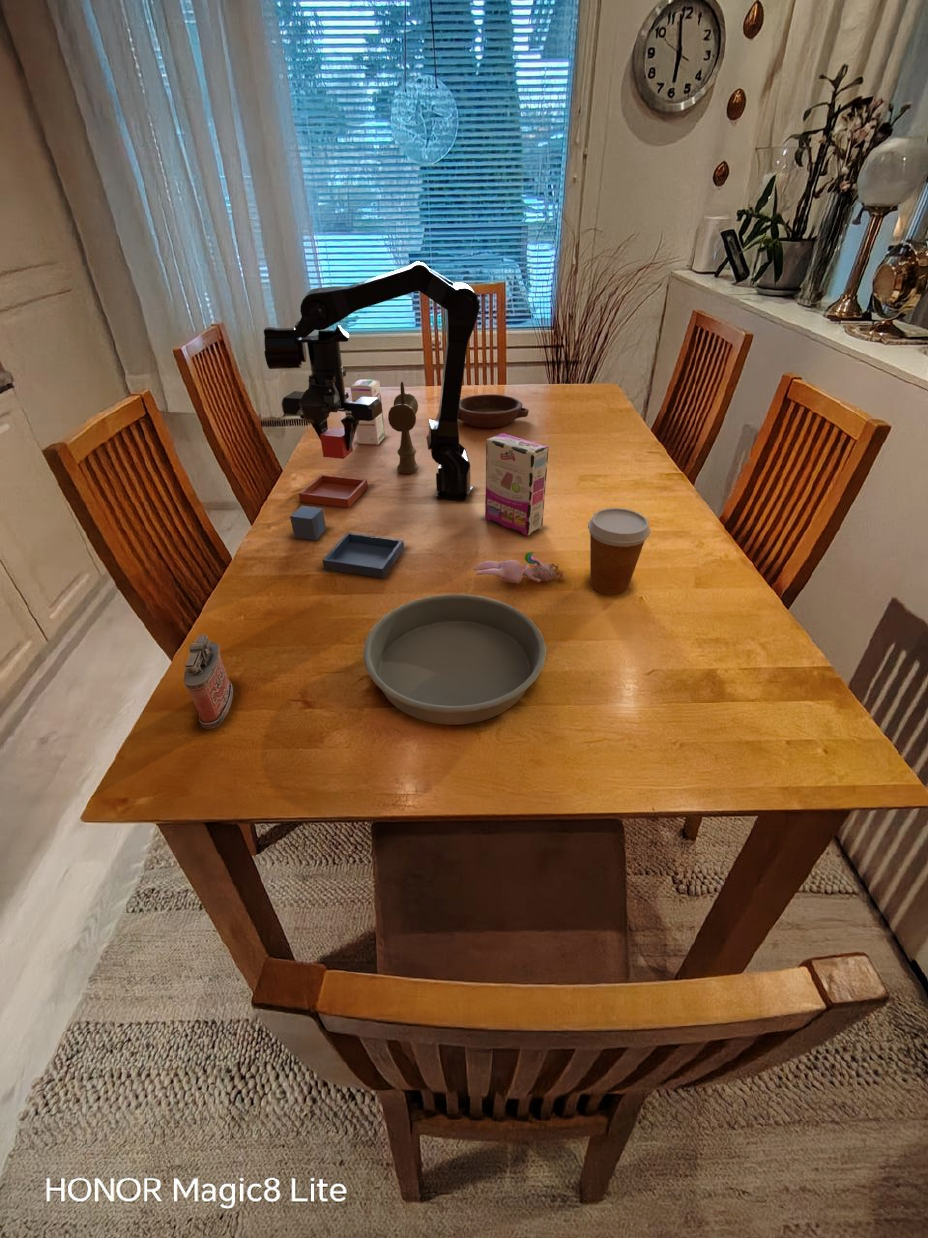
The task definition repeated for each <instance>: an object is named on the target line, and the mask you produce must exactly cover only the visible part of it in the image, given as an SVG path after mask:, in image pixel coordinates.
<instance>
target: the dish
mask: <svg viewBox="0 0 928 1238" xmlns="http://www.w3.org/2000/svg"><path fill="white" fill-rule="evenodd" d="M529 412H530V411H529V409H528V408H527V407H524V404H523V402H522V401H521V400H519V399H517V398H515V397H512V396H509V395H504V394H496V393H494V394H493V393H492V394H491V393H489V394H487V393H486V394H485V393H484V394H474V395H469V396H465V397H462V398H460V404H459V412H458V421H462V422H463V423H465V424H467V425H469V426H472V427H476V428H484V429H485V428H486V429H487V428H489V429H490V428H492V429H493V428H499V427H504V426H507V425H509V424H511V423H513V422H514V421H515V420H518V419H521V418H527V417H528V416H529Z"/></svg>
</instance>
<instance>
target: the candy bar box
mask: <svg viewBox="0 0 928 1238" xmlns="http://www.w3.org/2000/svg"><path fill="white" fill-rule="evenodd" d="M485 443H486V445H485V500H484V501H485V505H484V506H485V507H484V508H485V510H484V518H485V520H487V521H489V522H492V523H495V524H497V525H499V526H502V527H504V528H507V529H509V530H512V531H514V532H517V533H519V534H522V535H524V536H527V537H528V536H530V535H533V534H534V533H536V532H538V531H540V530H541V529H543V526H544V525H543V524H544V510H545V498H546V485H547V471H548V463H549V462H548V460H549V449H550V447H549V445H544V444H541V443H537V442H534V441H531V440H527V439H524V438H520V437H517V436H513V435H509V434H507V433H503V432H502V433H499V434H497V435H494V436H492V437H489V438H486V440H485Z"/></svg>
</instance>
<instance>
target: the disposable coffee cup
mask: <svg viewBox="0 0 928 1238" xmlns="http://www.w3.org/2000/svg"><path fill="white" fill-rule="evenodd" d="M587 529H588V532H589V542H590V543H589V545H590V547H589V550H590V553H589V554H590V555H589V556H590V557H589V558H590V559H589V560H590V561H589V562H590V564H589V565H590V566H589V567H590V569H589V571H590V572H589V576H590V577H589V579H590V586H591V588H592V589H594V590H595V591H596V592H598V593H600V594H603V595H609V596H615V595H622V594H624V593H625V592H627V591H628V590H629V586H630V584H631V581H632V578H633V575H634V572H635V569H636V567H637V564H638V561H639V558H640V555H641V553H642V550H643V547H644V544H645V541H646V540H647V539H648V537H649V536H650V534H651V528H650V526H649V521H648V518H647V517H646V516H644V515H643V514H641V513H640V512H638V511H635V510H632V509H629V508H623V507H607V508H603V509H600V510H598V511H597V512H594V513H593V515H592V516H591V519H589V521H588V523H587Z"/></svg>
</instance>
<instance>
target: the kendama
mask: <svg viewBox="0 0 928 1238" xmlns="http://www.w3.org/2000/svg"><path fill="white" fill-rule="evenodd" d="M418 410H419V403H418V400H417V399H416V397H415V396H414V395H413V394H411V393H408V392H405V384H404V382H403V381H401V382H400V393H399V394H398V395H397V396H395V397H394V400H393V405H392V406H391V407H390V409H389V411H388V414H387V420H388V424H389V426H390V427H391V428H392V429H393V430H394V431H396V432H400V433H401V435H400V444H399V448H398V449H397V451H396V452H397V455H398V456H399V462H398V465H397V467H396V470H397V472H399V473H401V474H414V473H416V472H417V471H418V470H419V464H418V463H417V462H416V453H417V449H416V447H414V445H413V442H412V437H411V433H410V431H412V430H413V429H414V427H415V426H416V422H417V416H416V414H417V412H418Z"/></svg>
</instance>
